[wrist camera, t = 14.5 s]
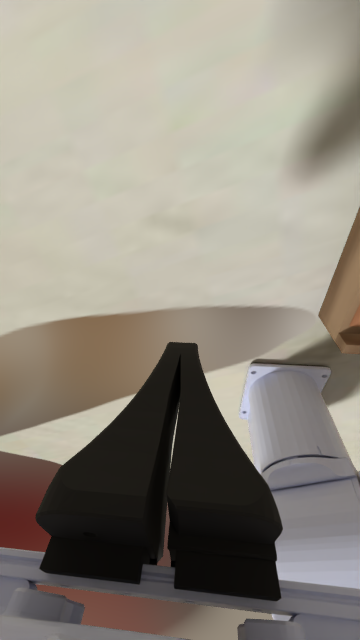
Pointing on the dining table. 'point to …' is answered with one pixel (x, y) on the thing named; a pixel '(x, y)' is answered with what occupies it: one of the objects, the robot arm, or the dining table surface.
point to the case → (345, 296)
